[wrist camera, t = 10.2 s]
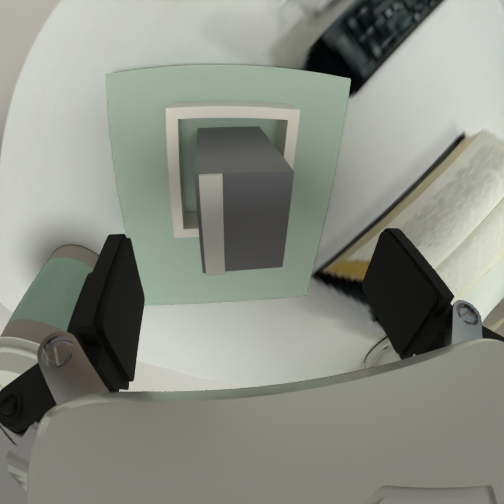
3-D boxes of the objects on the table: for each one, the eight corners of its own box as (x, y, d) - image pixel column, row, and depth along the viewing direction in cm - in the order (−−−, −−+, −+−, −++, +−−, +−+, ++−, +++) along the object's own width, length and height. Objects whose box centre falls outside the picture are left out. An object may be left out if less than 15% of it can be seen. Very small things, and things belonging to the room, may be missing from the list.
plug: (256, 194, 18) (283, 270, 13) (200, 197, 18) (202, 276, 12) (259, 126, 15) (295, 173, 10) (197, 128, 15) (194, 177, 9)
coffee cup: (29, 276, 20) (-14, 389, 11) (54, 210, 17) (-19, 344, 8) (102, 317, 25) (85, 433, 15) (143, 266, 22) (125, 410, 12)
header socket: (276, 216, 19) (283, 233, 18) (176, 220, 18) (174, 238, 17) (289, 104, 15) (300, 110, 13) (170, 102, 14) (165, 108, 12)
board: (301, 286, 26) (305, 295, 25) (145, 295, 24) (144, 305, 23) (342, 77, 15) (350, 78, 14) (112, 73, 13) (106, 74, 12)
